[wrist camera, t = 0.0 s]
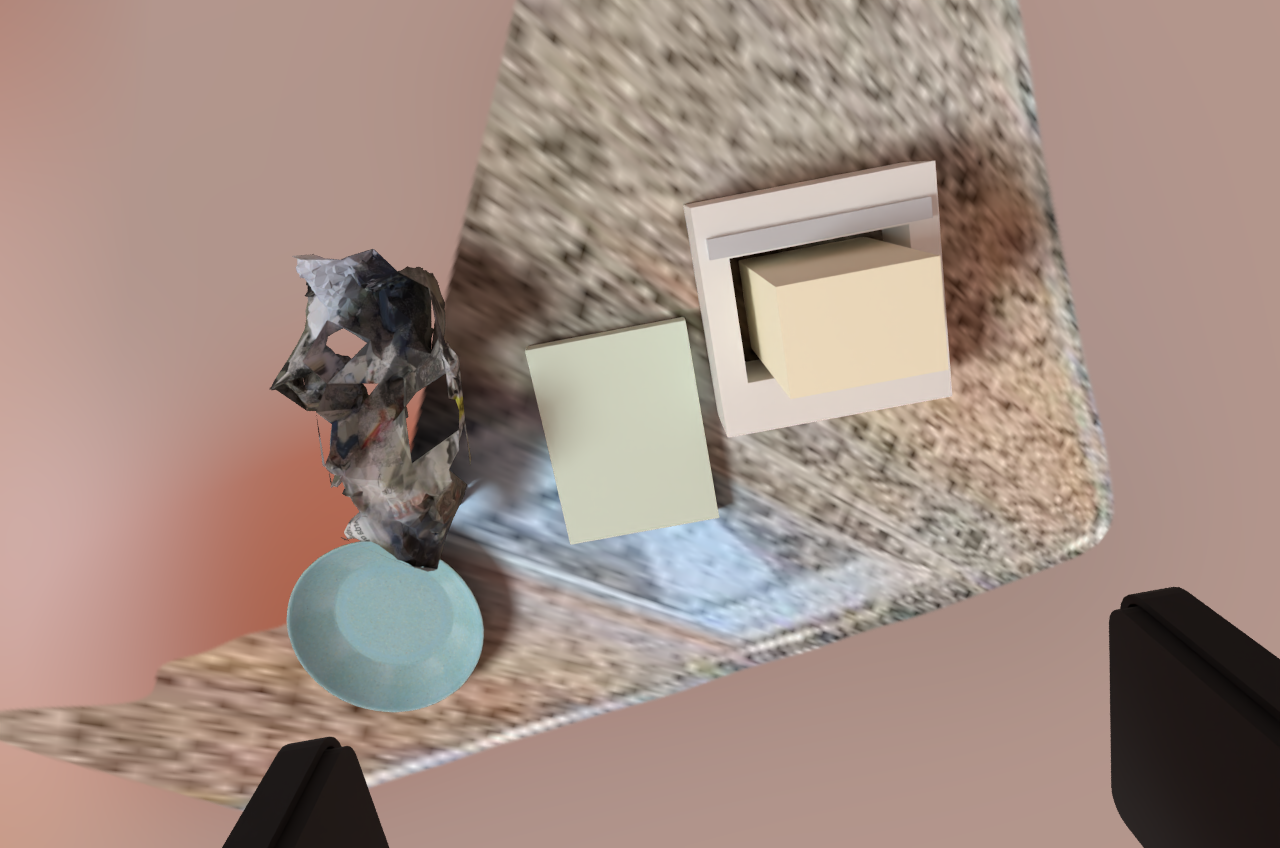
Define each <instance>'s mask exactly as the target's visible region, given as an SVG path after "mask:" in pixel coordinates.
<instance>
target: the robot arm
mask: <svg viewBox="0 0 1280 848" xmlns="http://www.w3.org/2000/svg"><path fill="white" fill-rule="evenodd" d="M1109 645H1110V646H1109V647H1110V648H1109V650H1110V718H1111V719H1110V720H1111V721H1110V722H1111V788H1112V795H1113V799H1114V802H1115V805H1116V808H1117V810H1118V812H1119V814H1120V816H1121V818H1122V820H1123V821H1124V823H1125V824H1126V825H1127V827H1128V828H1129V829H1130V831H1131V832H1132V833H1133V834H1134V836H1135V837H1136V838H1137V840H1138V841H1139V842H1140V843H1141V845H1142V846H1143V847H1144V848H1280V659H1279V658H1277V657H1276V656H1275V655H1273V654H1272V653H1271V652H1269V651H1268V650H1267V649H1265V648H1264V647H1262V646H1261V645H1260V644H1258V643H1257V642H1256V641H1254V640H1253V639H1252V638H1250V637H1249V636H1247V635H1246V634H1245V633H1243V632H1242V631H1241V630H1239V629H1238V628H1236V627H1235V626H1234V625H1232V624H1231V623H1230V622H1228V621H1227V620H1225V619H1224V618H1223V617H1222V616H1220V615H1219V614H1217V613H1216V612H1215V611H1213V610H1212V609H1211V608H1209V607H1208V606H1206V605H1205V604H1204V603H1202V602H1201V601H1200V600H1198V599H1197V598H1196V597H1194V596H1193V595H1191V594H1190V593H1189V592H1187V591H1185V590H1184V589H1182V588H1180V587H1171V588H1165V589H1159V590H1153V591H1148V592H1142V593H1136V594H1131V595H1128V596H1126V597H1124V598H1123V601H1122V603H1121V608H1120V609H1118V610H1114V611H1113V612H1112V613H1111V615H1110V620H1109ZM222 848H389V846H388V843H387V840H386V837H385V834H384V832H383V829H382V826H381V823H380V821H379V818H378V815H377V812H376V809H375V806H374V803H373V801H372V798H371V795H370V792H369V789H368V787H367V784H366V781H365V778H364V775H363V773H362V770H361V767H360V764H359V761H358V759H357V756H356V754H355V752H354V750H353V749H352V748H351V747H349V746H344V747H341V745H340V743H339V741H338V740H337V739H336V738H334V737H325V738H319V739H314V740H308V741H302V742H297V743H291V744H287V745H285V746H283V747H282V748H281V750H280V751H279V752H278V754H277V755H276V757H275V759H274V760H273V762H272V764H271V766H270V767H269V769H268V771H267V772H266V774H265V776H264V777H263V779H262V781H261V782H260V784H259V786H258V788H257V789H256V791H255V793H254V794H253V796H252V798H251V799H250V801H249V803H248V805H247V806H246V808H245V810H244V811H243V813H242V815H241V816H240V818H239V820H238V822H237V823H236V825H235V827H234V828H233V830H232V832H231V833H230V835H229V837H228V838H227V840H226V842H225V844H224V845H223V847H222Z"/></svg>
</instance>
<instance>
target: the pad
mask: <svg viewBox="0 0 1280 848" xmlns="http://www.w3.org/2000/svg"><path fill="white" fill-rule="evenodd" d="M525 353H526V357H527V361H528V365H529V370H530V374H531V378H532V382H533V387H534V391H535V395H536V399H537V404H538V408H539V412H540V417H541V421H542V425H543V429H544V434H545V438H546V442H547V446H548V451H549V455H550V459H551V463H552V468H553V472H554V476H555V481H556V485H557V489H558V493H559V498H560V502H561V506H562V510H563V515H564V519H565V523H566V527H567V532H568V536H569V540H570V544H577V543H582V542H588V541H593V540H599V539H604V538H610V537H615V536H621V535H626V534H632V533H637V532H643V531H648V530H654V529H659V528H665V527H670V526H676V525H681V524H687V523H692V522H698V521H703V520H709V519H714V518H719V514H718V508H717V502H716V496H715V491H714V485H713V479H712V473H711V467H710V461H709V455H708V450H707V444H706V438H705V432H704V426H703V420H702V415H701V409H700V403H699V397H698V391H697V385H696V379H695V374H694V368H693V362H692V356H691V350H690V344H689V339H688V333H687V327H686V321H685V318H684V317H679V318H674V319H669V320H664V321H658V322H653V323H648V324H642V325H637V326H632V327H627V328H621V329H616V330H611V331H606V332H600V333H595V334H590V335H585V336H579V337H574V338H569V339H563V340H558V341H553V342H548V343H542V344H537V345H532V346H527V348H526V350H525Z"/></svg>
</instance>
